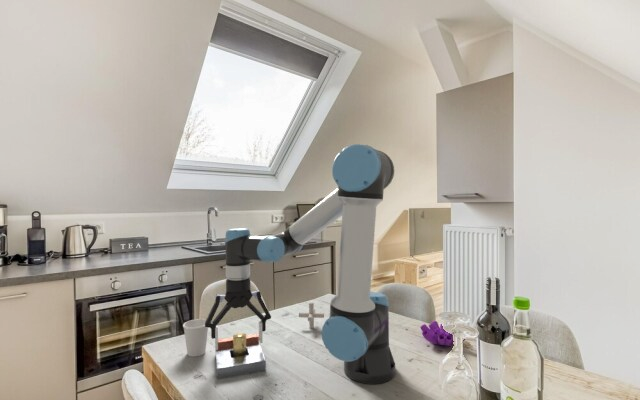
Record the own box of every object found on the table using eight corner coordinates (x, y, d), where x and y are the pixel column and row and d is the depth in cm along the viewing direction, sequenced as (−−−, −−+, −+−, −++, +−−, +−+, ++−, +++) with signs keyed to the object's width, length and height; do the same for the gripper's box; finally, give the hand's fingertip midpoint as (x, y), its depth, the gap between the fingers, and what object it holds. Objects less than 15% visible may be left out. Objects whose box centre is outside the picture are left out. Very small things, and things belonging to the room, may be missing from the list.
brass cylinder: (245, 356, 108) (245, 332, 108) (247, 362, 104) (246, 337, 104) (232, 359, 106) (232, 334, 106) (234, 364, 103) (233, 339, 103)
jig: (265, 370, 100) (265, 353, 100) (217, 379, 95) (216, 361, 95) (257, 348, 115) (257, 333, 115) (215, 354, 110) (215, 339, 110)
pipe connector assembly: (443, 363, 109) (425, 339, 110) (430, 343, 124) (414, 323, 125) (470, 342, 109) (452, 319, 109) (454, 325, 124) (438, 304, 124)
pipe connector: (325, 323, 137) (324, 299, 137) (323, 332, 127) (322, 306, 127) (301, 322, 138) (300, 298, 138) (297, 332, 128) (296, 306, 128)
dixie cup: (197, 345, 118) (197, 317, 118) (214, 350, 114) (214, 321, 114) (177, 355, 111) (177, 325, 111) (195, 360, 107) (194, 329, 107)
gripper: (274, 271, 113) (275, 334, 113) (196, 278, 105) (197, 345, 105) (279, 276, 106) (280, 343, 106) (195, 284, 98) (196, 356, 97)
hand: (239, 344), depth 105 cm, fingers open, 13 cm apart
